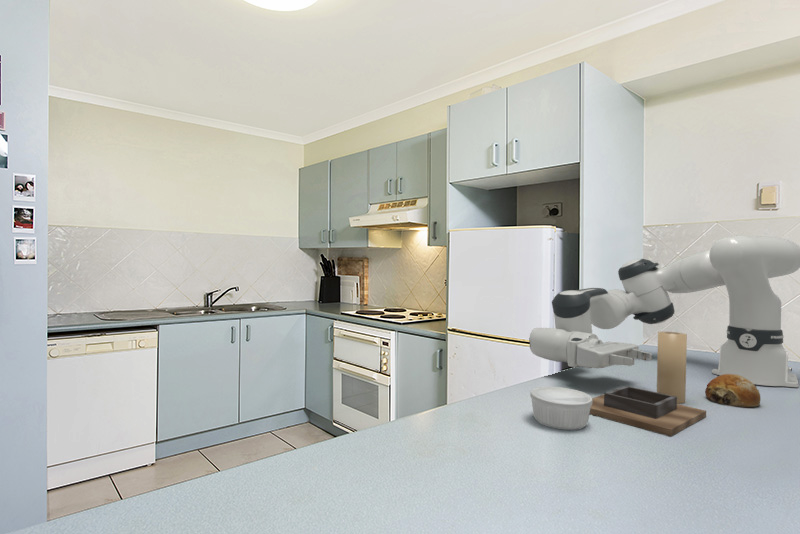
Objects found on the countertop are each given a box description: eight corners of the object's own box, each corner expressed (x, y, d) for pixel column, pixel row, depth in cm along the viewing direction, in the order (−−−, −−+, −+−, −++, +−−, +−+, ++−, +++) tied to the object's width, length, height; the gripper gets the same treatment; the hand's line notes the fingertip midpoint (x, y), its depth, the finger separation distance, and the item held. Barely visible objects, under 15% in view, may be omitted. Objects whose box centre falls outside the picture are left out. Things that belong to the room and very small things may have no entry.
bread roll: (763, 426, 98) (780, 392, 98) (719, 404, 98) (737, 371, 98) (730, 411, 108) (746, 381, 108) (691, 391, 108) (706, 361, 108)
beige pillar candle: (662, 395, 107) (663, 330, 107) (689, 400, 103) (690, 333, 103) (652, 398, 103) (653, 332, 103) (679, 405, 99) (681, 335, 99)
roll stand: (616, 395, 106) (616, 379, 106) (706, 416, 92) (706, 398, 92) (575, 409, 94) (575, 391, 94) (671, 436, 80) (671, 415, 80)
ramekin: (571, 437, 79) (572, 407, 79) (517, 419, 88) (518, 392, 88) (603, 424, 86) (604, 396, 86) (550, 409, 95) (551, 383, 95)
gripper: (604, 357, 125) (659, 367, 114) (564, 367, 112) (622, 379, 101) (605, 334, 125) (660, 342, 114) (565, 341, 112) (623, 350, 101)
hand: (642, 359), depth 108 cm, fingers open, 8 cm apart
